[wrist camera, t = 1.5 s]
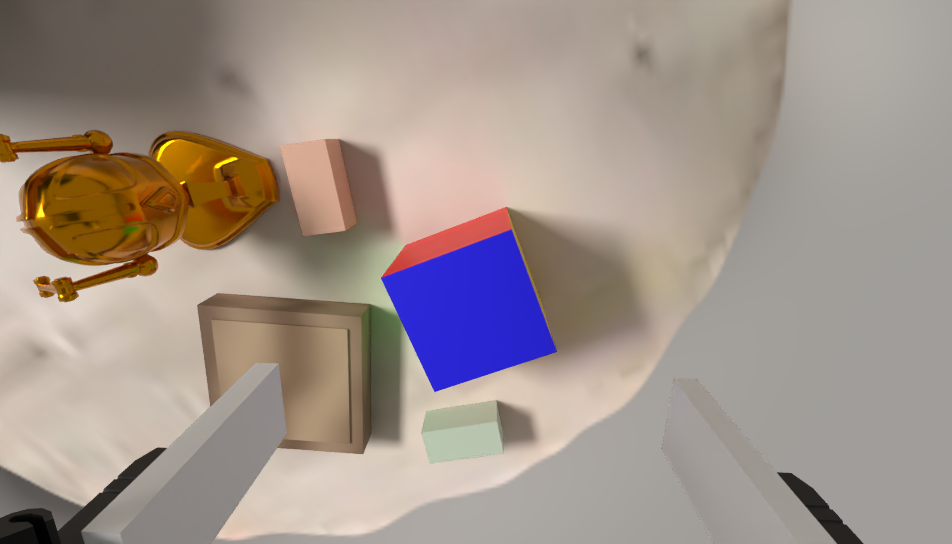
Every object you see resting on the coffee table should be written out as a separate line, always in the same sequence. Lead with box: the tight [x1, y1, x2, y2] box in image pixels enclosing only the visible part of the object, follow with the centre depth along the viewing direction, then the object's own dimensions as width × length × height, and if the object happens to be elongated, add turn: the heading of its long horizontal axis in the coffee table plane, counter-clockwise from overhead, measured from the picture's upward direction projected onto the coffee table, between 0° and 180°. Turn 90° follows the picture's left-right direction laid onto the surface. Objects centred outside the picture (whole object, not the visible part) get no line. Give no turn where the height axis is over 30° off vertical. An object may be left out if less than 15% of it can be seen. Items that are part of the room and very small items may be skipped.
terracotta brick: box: [280, 139, 357, 236], centre depth 31 cm, size 6×3×3 cm, turn 8°
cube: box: [381, 207, 557, 392], centre depth 30 cm, size 8×8×8 cm
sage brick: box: [421, 400, 504, 464], centre depth 36 cm, size 6×3×3 cm, turn 101°
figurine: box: [0, 130, 279, 302], centre depth 27 cm, size 8×11×12 cm
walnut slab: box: [197, 293, 371, 454], centre depth 35 cm, size 12×12×3 cm
